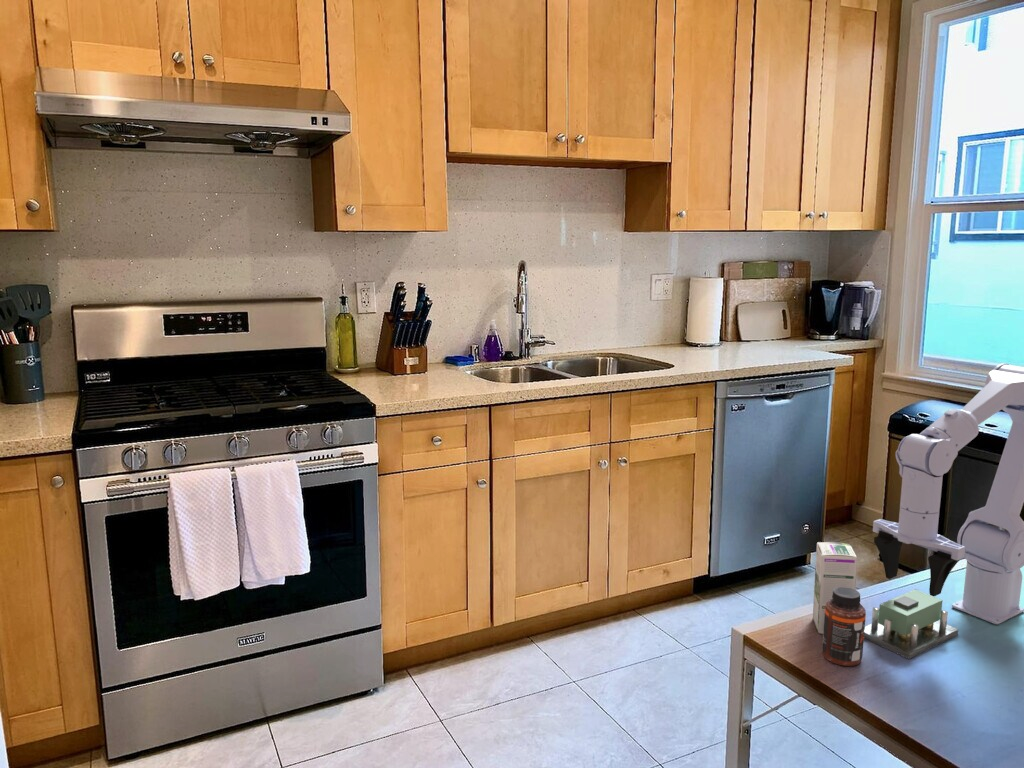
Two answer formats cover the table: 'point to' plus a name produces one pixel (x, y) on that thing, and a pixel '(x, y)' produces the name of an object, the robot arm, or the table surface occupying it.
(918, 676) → the table surface
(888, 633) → the chassis
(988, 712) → the table surface
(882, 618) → the green rectangular block
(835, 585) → the syrup box
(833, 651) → the supplement bottle
